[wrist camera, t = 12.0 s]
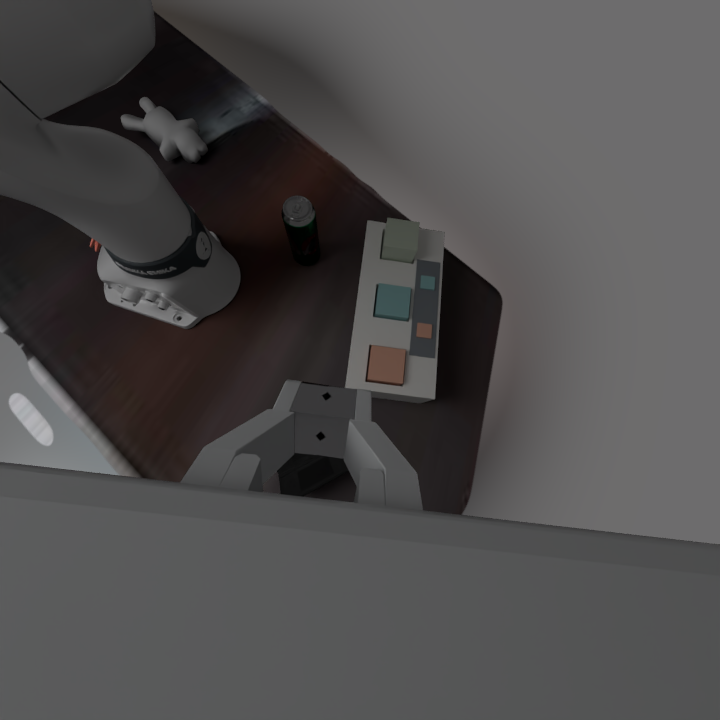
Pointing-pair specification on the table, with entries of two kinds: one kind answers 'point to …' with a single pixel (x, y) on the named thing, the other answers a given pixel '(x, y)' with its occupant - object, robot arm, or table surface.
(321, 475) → the handheld gaming console
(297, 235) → the soda can
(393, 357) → the terracotta key
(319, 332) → the table surface
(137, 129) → the bunny figurine
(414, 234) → the sage green key
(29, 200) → the robot arm
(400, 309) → the teal key
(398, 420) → the table surface
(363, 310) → the keypad
